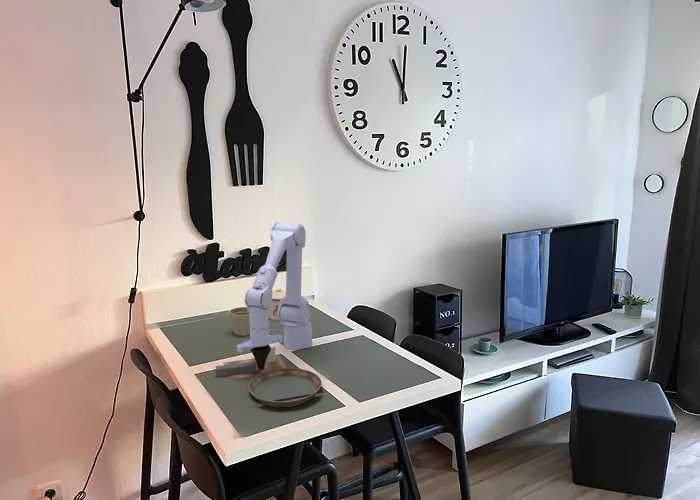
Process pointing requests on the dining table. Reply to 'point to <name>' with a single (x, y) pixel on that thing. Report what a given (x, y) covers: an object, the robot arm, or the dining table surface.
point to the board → (268, 367)
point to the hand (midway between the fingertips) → (260, 368)
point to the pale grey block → (271, 354)
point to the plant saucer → (280, 373)
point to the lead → (236, 369)
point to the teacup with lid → (275, 304)
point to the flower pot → (240, 321)
